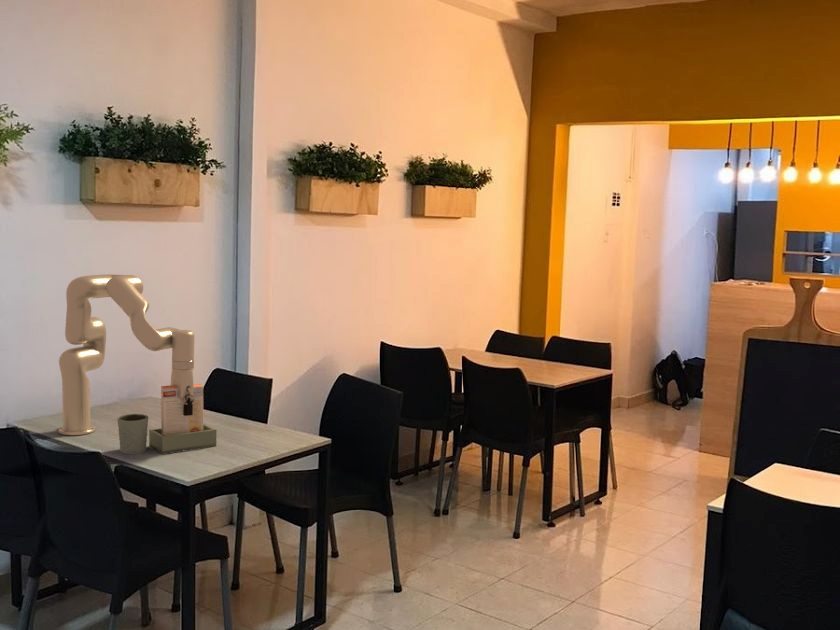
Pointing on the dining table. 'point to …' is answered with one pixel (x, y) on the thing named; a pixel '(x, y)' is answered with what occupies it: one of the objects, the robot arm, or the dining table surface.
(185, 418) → the cracker box
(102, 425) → the dining table surface
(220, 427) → the dining table surface
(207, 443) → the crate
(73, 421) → the robot arm
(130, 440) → the grey-green cup
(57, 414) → the dining table surface
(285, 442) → the dining table surface
